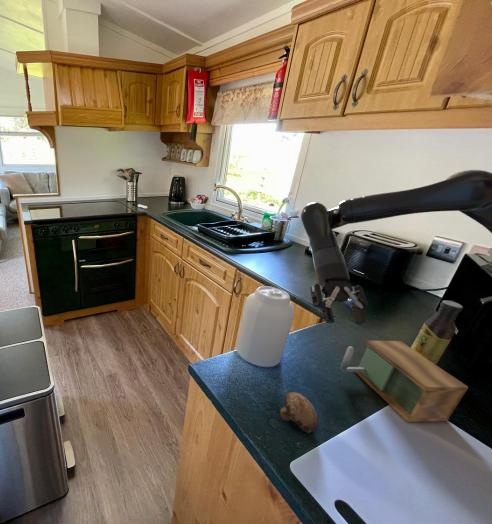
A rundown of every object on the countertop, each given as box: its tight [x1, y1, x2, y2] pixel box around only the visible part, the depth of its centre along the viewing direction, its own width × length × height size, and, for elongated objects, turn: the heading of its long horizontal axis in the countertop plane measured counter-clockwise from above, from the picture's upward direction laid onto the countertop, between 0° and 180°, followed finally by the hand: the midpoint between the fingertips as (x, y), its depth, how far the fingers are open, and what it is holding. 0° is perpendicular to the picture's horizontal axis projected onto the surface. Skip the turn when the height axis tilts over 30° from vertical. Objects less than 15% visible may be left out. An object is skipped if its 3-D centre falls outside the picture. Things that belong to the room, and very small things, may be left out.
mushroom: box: [279, 391, 319, 434], centre depth 62 cm, size 8×8×6 cm
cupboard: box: [355, 340, 469, 423], centre depth 70 cm, size 10×16×10 cm, turn 4°
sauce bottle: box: [410, 300, 464, 365], centre depth 81 cm, size 6×6×20 cm
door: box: [339, 346, 395, 391], centre depth 73 cm, size 7×8×8 cm
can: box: [234, 285, 295, 368], centre depth 80 cm, size 12×12×20 cm
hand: (345, 323), depth 76 cm, fingers open, 8 cm apart
